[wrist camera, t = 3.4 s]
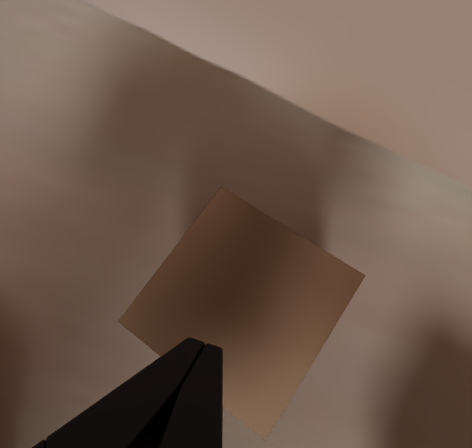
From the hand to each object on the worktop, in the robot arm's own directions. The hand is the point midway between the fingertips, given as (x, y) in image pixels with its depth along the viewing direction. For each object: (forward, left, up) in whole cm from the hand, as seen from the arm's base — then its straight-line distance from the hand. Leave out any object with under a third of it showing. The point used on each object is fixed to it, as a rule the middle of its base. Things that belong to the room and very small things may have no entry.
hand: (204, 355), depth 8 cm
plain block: (+1, -2, -13) cm, 13 cm away
